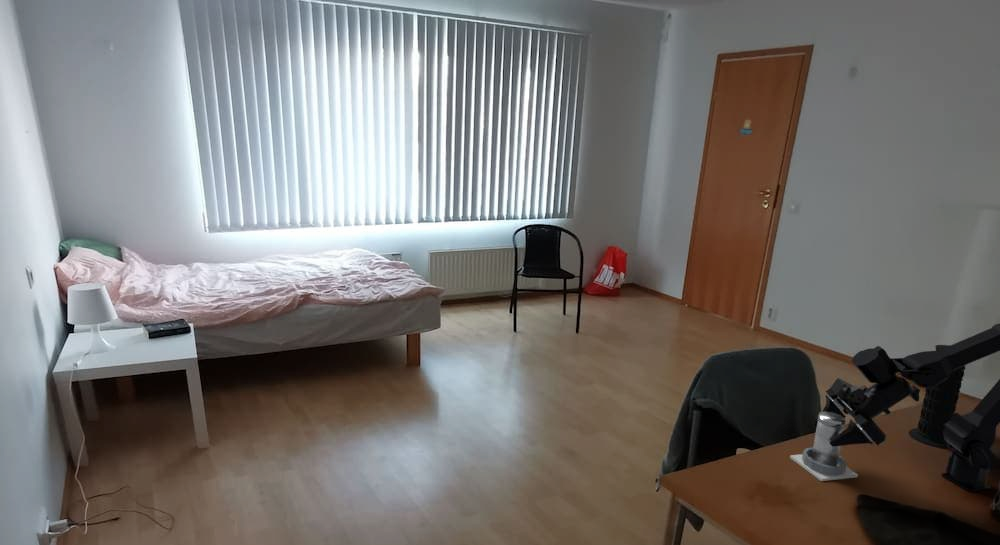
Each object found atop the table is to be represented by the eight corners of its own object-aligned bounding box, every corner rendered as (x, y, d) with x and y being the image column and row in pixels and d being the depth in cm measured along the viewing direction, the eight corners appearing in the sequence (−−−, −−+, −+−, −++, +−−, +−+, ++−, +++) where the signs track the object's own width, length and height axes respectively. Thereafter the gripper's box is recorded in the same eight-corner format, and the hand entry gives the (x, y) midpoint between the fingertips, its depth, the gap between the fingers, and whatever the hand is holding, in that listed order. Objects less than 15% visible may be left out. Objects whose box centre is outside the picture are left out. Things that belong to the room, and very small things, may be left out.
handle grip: (920, 445, 143) (964, 451, 141) (942, 350, 137) (987, 354, 135) (901, 427, 153) (941, 432, 151) (920, 337, 147) (963, 341, 145)
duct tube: (841, 467, 130) (850, 419, 127) (828, 473, 127) (837, 424, 125) (819, 456, 135) (827, 409, 132) (805, 461, 132) (813, 414, 130)
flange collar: (857, 477, 128) (859, 467, 127) (821, 481, 125) (823, 471, 125) (824, 454, 137) (825, 444, 137) (789, 457, 135) (791, 448, 134)
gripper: (840, 356, 134) (786, 393, 138) (880, 387, 116) (816, 429, 120) (869, 388, 135) (814, 425, 139) (913, 425, 117) (849, 465, 121)
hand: (822, 434), depth 130 cm, fingers open, 9 cm apart
